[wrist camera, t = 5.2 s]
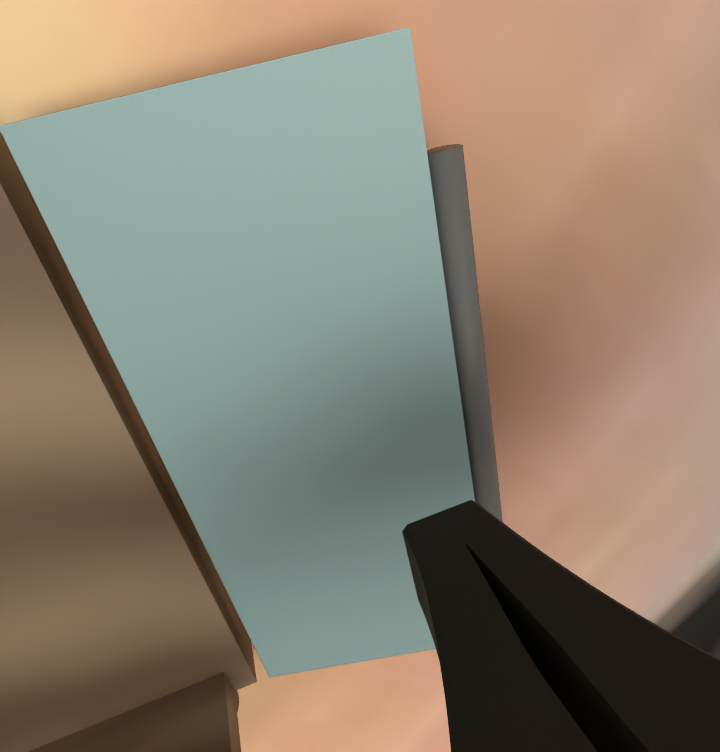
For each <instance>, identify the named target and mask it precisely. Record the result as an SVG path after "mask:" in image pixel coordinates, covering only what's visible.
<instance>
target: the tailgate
mask: <svg viewBox="0 0 720 752" xmlns="http://www.w3.org/2000/svg"><path fill="white" fill-rule="evenodd" d="M0 131H1V133H2V135H3V137H4V139H5V141H6V144H7V146H8V148H9V150H10V152H11V154H12V156H13V158H14V160H15V162H16V164H17V166H18V168H19V170H20V172H21V174H22V176H23V178H24V180H25V182H26V184H27V186H28V188H29V190H30V192H31V194H32V196H33V198H34V200H35V202H36V204H37V207H38V209H39V211H40V213H41V215H42V217H43V219H44V221H45V223H46V225H47V227H48V229H49V231H50V233H51V235H52V237H53V239H54V241H55V243H56V245H57V247H58V249H59V251H60V253H61V255H62V257H63V259H64V261H65V263H66V265H67V267H68V269H69V272H70V274H71V276H72V278H73V280H74V282H75V284H76V286H77V288H78V290H79V292H80V294H81V296H82V298H83V300H84V302H85V304H86V306H87V308H88V310H89V312H90V314H91V316H92V318H93V320H94V322H95V324H96V326H97V328H98V330H99V332H100V334H101V337H102V339H103V341H104V343H105V345H106V347H107V349H108V351H109V353H110V355H111V357H112V359H113V361H114V363H115V365H116V367H117V369H118V371H119V373H120V375H121V377H122V379H123V381H124V383H125V385H126V387H127V389H128V391H129V393H130V395H131V397H132V400H133V402H134V404H135V406H136V408H137V410H138V412H139V414H140V416H141V418H142V420H143V422H144V424H145V426H146V428H147V430H148V432H149V434H150V436H151V438H152V440H153V442H154V444H155V446H156V448H157V450H158V452H159V454H160V456H161V458H162V460H163V462H164V465H165V467H166V469H167V471H168V473H169V475H170V477H171V479H172V481H173V483H174V485H175V487H176V489H177V491H178V493H179V495H180V497H181V499H182V501H183V503H184V505H185V507H186V509H187V511H188V513H189V515H190V517H191V519H192V521H193V523H194V525H195V527H196V530H197V532H198V534H199V536H200V538H201V540H202V542H203V544H204V546H205V548H206V550H207V552H208V554H209V556H210V558H211V560H212V562H213V564H214V566H215V568H216V570H217V572H218V574H219V576H220V578H221V580H222V582H223V584H224V586H225V588H226V590H227V592H228V595H229V597H230V599H231V601H232V603H233V605H234V607H235V609H236V611H237V613H238V615H239V617H240V619H241V621H242V623H243V625H244V627H245V629H246V631H247V633H248V635H249V637H250V639H251V641H252V643H253V645H254V647H255V649H256V651H257V653H258V655H259V658H260V660H261V662H262V664H263V666H264V668H265V670H266V672H267V674H268V676H269V677H273V676H279V675H285V674H291V673H297V672H303V671H309V670H314V669H320V668H326V667H332V666H338V665H344V664H349V663H355V662H361V661H367V660H373V659H379V658H384V657H390V656H396V655H402V654H408V653H414V652H420V651H425V650H431V649H436V647H435V644H434V641H433V638H432V635H431V632H430V629H429V627H428V624H427V621H426V618H425V616H424V613H423V610H422V608H421V606H420V603H419V601H418V597H417V593H416V589H415V585H414V580H413V576H412V572H411V567H410V563H409V559H408V555H407V550H406V546H405V542H404V538H403V533H402V531H403V530H404V528H405V527H406V525H407V524H410V523H412V522H415V521H417V520H420V519H423V518H425V517H428V516H430V515H433V514H435V513H438V512H441V511H443V510H446V509H448V508H451V507H454V506H456V505H459V504H461V503H464V502H467V501H469V500H473V501H475V502H477V503H478V504H480V505H481V506H482V507H483V508H485V509H486V510H487V511H488V512H490V513H491V514H492V515H494V516H495V517H496V518H497V519H499V520H500V521H501V522H502V523H503V521H502V512H501V503H500V493H499V484H498V474H497V465H496V456H495V446H494V437H493V427H492V418H491V408H490V399H489V390H488V380H487V371H486V361H485V352H484V343H483V333H482V324H481V314H480V305H479V295H478V286H477V277H476V267H475V258H474V248H473V239H472V230H471V220H470V211H469V201H468V192H467V182H466V173H465V164H464V154H463V145H460V144H454V145H446V146H441V147H437V148H433V149H430V150H428V151H427V148H426V140H425V133H424V126H423V119H422V111H421V104H420V97H419V89H418V82H417V75H416V67H415V60H414V53H413V46H412V38H411V31H410V27H408V28H404V29H399V30H395V31H391V32H387V33H383V34H379V35H375V36H370V37H366V38H362V39H358V40H354V41H350V42H346V43H341V44H337V45H333V46H329V47H325V48H321V49H316V50H312V51H308V52H304V53H300V54H296V55H292V56H287V57H283V58H279V59H275V60H271V61H267V62H263V63H258V64H254V65H250V66H246V67H242V68H238V69H233V70H229V71H225V72H221V73H217V74H213V75H209V76H204V77H200V78H196V79H192V80H188V81H184V82H179V83H175V84H171V85H167V86H163V87H159V88H155V89H150V90H146V91H142V92H138V93H134V94H130V95H126V96H121V97H117V98H113V99H109V100H105V101H101V102H96V103H92V104H88V105H84V106H80V107H76V108H72V109H67V110H63V111H59V112H55V113H51V114H47V115H43V116H38V117H34V118H30V119H26V120H22V121H18V122H13V123H9V124H5V125H1V126H0Z"/></svg>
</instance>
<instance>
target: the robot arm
mask: <svg viewBox="0 0 720 752" xmlns="http://www.w3.org/2000/svg"><path fill="white" fill-rule="evenodd" d="M402 533H403V538H404V542H405V546H406V550H407V555H408V559H409V563H410V567H411V572H412V576H413V580H414V585H415V589H416V593H417V597H418V601H419V603H420V606H421V608H422V610H423V613H424V616H425V618H426V621H427V624H428V627H429V629H430V632H431V635H432V638H433V641H434V644H435V647H436V650H437V654H438V657H439V661H440V666H441V672H442V679H443V686H444V692H445V699H446V708H447V716H448V725H449V734H450V744H451V752H720V659H718V658H716V657H714V656H712V655H711V654H709V653H707V652H705V651H703V650H701V649H699V648H697V647H696V646H693V645H692V644H690V643H688V642H686V641H684V640H682V639H680V638H679V637H677V636H675V635H673V634H672V633H670V632H668V631H666V630H664V629H663V628H661V627H659V626H657V625H656V624H654V623H652V622H651V621H649V620H647V619H645V618H644V617H642V616H640V615H639V614H637V613H635V612H634V611H632V610H630V609H629V608H627V607H625V606H624V605H622V604H620V603H619V602H617V601H616V600H614V599H612V598H611V597H609V596H607V595H606V594H604V593H603V592H601V591H600V590H598V589H596V588H595V587H593V586H592V585H590V584H589V583H587V582H586V581H584V580H583V579H581V578H580V577H578V576H577V575H575V574H574V573H572V572H571V571H569V570H568V569H566V568H565V567H563V566H562V565H560V564H559V563H557V562H556V561H554V560H553V559H552V558H550V557H549V556H547V555H546V554H544V553H543V552H542V551H540V550H539V549H537V548H536V547H535V546H533V545H532V544H531V543H529V542H528V541H526V540H525V539H524V538H522V537H521V536H520V535H518V534H517V533H516V532H514V531H513V530H512V529H510V528H509V527H508V526H506V525H505V524H504V523H502V522H501V521H500V520H499V519H497V518H496V517H495V516H494V515H492V514H491V513H490V512H488V511H487V510H486V509H485V508H483V507H482V506H481V505H480V504H478V503H477V502H475V501H473V500H469V501H467V502H464V503H461V504H459V505H456V506H454V507H451V508H448V509H446V510H443V511H441V512H438V513H435V514H433V515H430V516H428V517H425V518H423V519H420V520H417V521H415V522H412V523H410V524H407V525H406V527H405V528H404V530H403V531H402Z"/></svg>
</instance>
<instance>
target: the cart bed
mask: <svg viewBox="0 0 720 752" xmlns="http://www.w3.org/2000/svg"><path fill="white" fill-rule="evenodd" d="M255 682H257V680H256V673H255V666H254V659H253V652H252V645H251V640H250V638H249V636H248V634H247V632H246V630H245V628H244V626H243V624H242V622H241V620H240V618H239V616H238V614H237V612H236V610H235V608H234V606H233V604H232V601H231V599H230V597H229V595H228V593H227V591H226V589H225V587H224V585H223V583H222V581H221V579H220V577H219V575H218V573H217V571H216V569H215V567H214V565H213V563H212V561H211V559H210V557H209V555H208V553H207V551H206V549H205V547H204V545H203V543H202V541H201V539H200V537H199V535H198V532H197V530H196V528H195V526H194V524H193V522H192V520H191V518H190V516H189V514H188V512H187V510H186V508H185V506H184V504H183V502H182V500H181V498H180V496H179V494H178V492H177V490H176V488H175V486H174V484H173V482H172V480H171V478H170V476H169V474H168V472H167V470H166V468H165V466H164V463H163V461H162V459H161V457H160V455H159V453H158V451H157V449H156V447H155V445H154V443H153V441H152V439H151V437H150V435H149V433H148V431H147V429H146V427H145V425H144V423H143V421H142V419H141V417H140V415H139V413H138V411H137V409H136V407H135V405H134V403H133V401H132V399H131V397H130V395H129V392H128V390H127V388H126V386H125V384H124V382H123V380H122V378H121V376H120V374H119V372H118V370H117V368H116V366H115V364H114V362H113V360H112V358H111V356H110V354H109V352H108V350H107V348H106V346H105V344H104V342H103V340H102V338H101V336H100V334H99V332H98V330H97V328H96V326H95V323H94V321H93V319H92V317H91V315H90V313H89V311H88V309H87V307H86V305H85V303H84V301H83V299H82V297H81V295H80V293H79V291H78V289H77V287H76V285H75V283H74V281H73V279H72V277H71V275H70V273H69V271H68V269H67V267H66V265H65V263H64V261H63V259H62V257H61V254H60V252H59V250H58V248H57V246H56V244H55V242H54V240H53V238H52V236H51V234H50V232H49V230H48V228H47V226H46V224H45V222H44V220H43V218H42V216H41V214H40V212H39V210H38V208H37V206H36V204H35V202H34V200H33V198H32V196H31V194H30V192H29V190H28V188H27V186H26V183H25V181H24V179H23V177H22V175H21V173H20V171H19V169H18V167H17V165H16V163H15V161H14V159H13V157H12V155H11V153H10V151H9V149H8V147H7V145H6V143H5V141H4V139H3V137H2V135H1V133H0V752H241V746H240V737H239V727H238V718H237V711H238V706H239V697H238V692H237V690H238V689H240V688H243V687H245V686H247V685H250V684H252V683H255Z"/></svg>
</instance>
